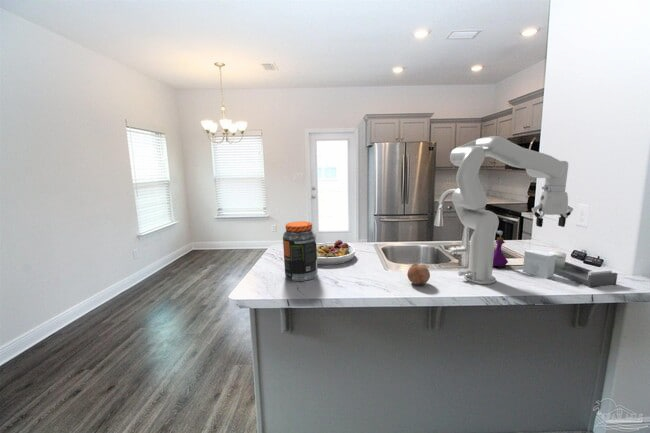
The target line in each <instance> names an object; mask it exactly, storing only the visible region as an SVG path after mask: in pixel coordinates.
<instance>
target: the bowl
mask: <svg viewBox="0 0 650 433" xmlns="http://www.w3.org/2000/svg"><path fill="white" fill-rule="evenodd" d="M316 246H317V265H325V266H329V265H331V266H332V265H339V264H343V263H347V262H349V261H350V260H352V259H353V258H354V256H355V255H356V249H355V247H354V246H352V245H351V244H348V243H347V242H343V241H342V240H341V239H337V240H336V241H335V242H321V243H316Z"/></svg>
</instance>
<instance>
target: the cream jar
mask: <svg viewBox="0 0 650 433" xmlns="http://www.w3.org/2000/svg"><path fill="white" fill-rule="evenodd" d="M548 253H551V254H556V258H555V266H554V267H555V268H558V269H560V270H562V269H564V268H565V262H566V257H567V253H566V252H561V251H554V250H553V251H552V250H551V251H548Z"/></svg>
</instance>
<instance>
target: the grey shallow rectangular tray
mask: <svg viewBox="0 0 650 433" xmlns="http://www.w3.org/2000/svg"><path fill="white" fill-rule="evenodd" d="M590 271H593V270H591V269H588V268H585V267H582V266H579V265H577V264H574V263H572V262H571V263H570V262H567V261H565V268H564V269H562V270H560V269H558V268H555V267H554V275H557V276H560V277H562V278H565V279H567V280H569V281H571V282H576V283H578V284H580V285H583V286H585V287H588V288H597V287H605V286H615V285H617V280H618V279H617V278H618V272H612V273H605V274H595V275H589V277H588V272H590ZM587 279H588V280H587Z"/></svg>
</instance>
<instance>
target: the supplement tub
mask: <svg viewBox="0 0 650 433" xmlns="http://www.w3.org/2000/svg"><path fill="white" fill-rule="evenodd" d="M284 228H285V231H284V233H283V234H282V245H283V246H282V247H283V248H282V249H283V257H284V259H283V260H284V275H285V277H286V278H287V279H288V280H289V281H294V282H301V281H302V282H303V281H309V280H313V279H314V278H316V276H317V275H318V264H317V246H316V244H317V234H316V232H315V230H313V229H314V228H313V224H312V222H311V221H305V220H304V221H302V220H301V221H291V222H287V223H286V224H285V227H284Z"/></svg>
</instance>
